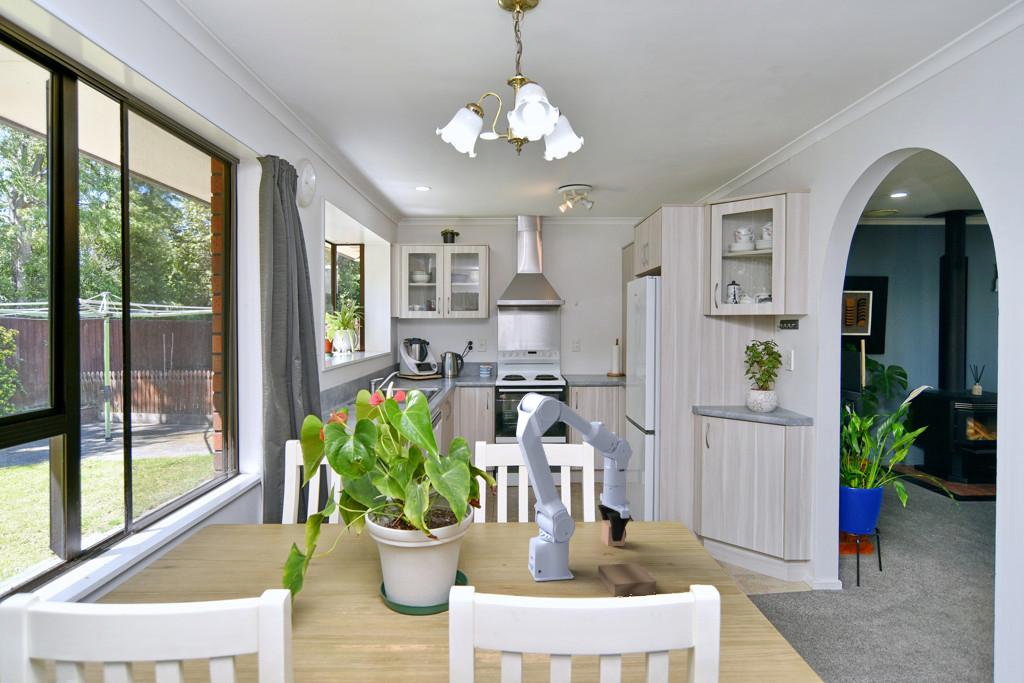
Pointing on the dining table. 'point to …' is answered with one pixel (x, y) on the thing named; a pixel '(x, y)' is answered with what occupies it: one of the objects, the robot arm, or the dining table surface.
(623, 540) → the terracotta cube
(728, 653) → the dining table surface
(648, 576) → the walnut base
